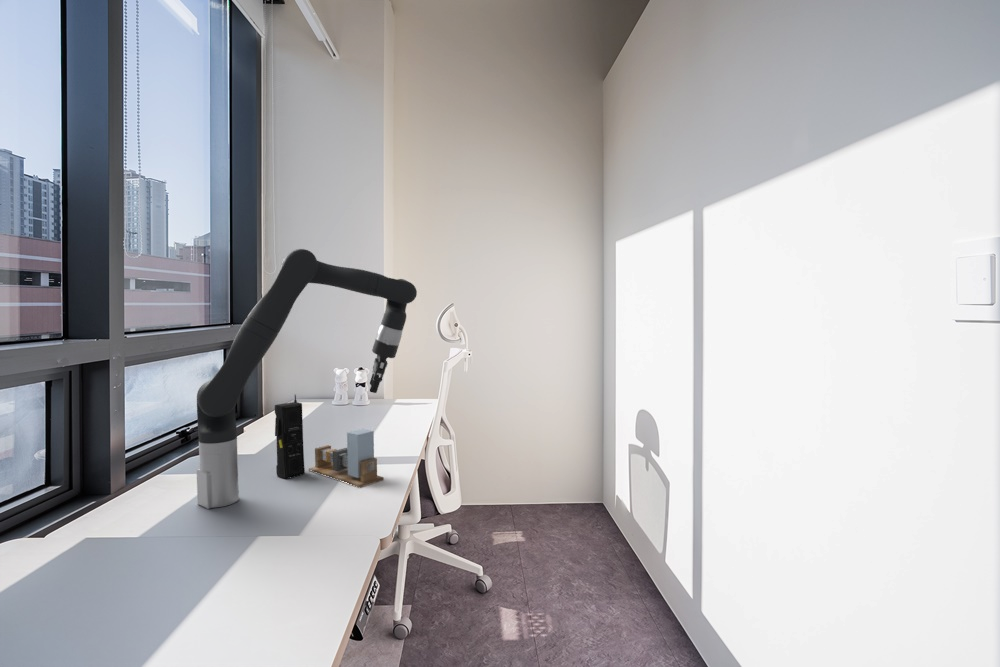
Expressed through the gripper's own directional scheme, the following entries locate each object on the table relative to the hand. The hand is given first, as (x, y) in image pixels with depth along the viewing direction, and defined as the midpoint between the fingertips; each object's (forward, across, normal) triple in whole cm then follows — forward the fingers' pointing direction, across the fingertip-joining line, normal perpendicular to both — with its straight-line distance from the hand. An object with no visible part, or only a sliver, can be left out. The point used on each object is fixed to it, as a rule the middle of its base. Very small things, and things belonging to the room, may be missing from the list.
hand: (372, 388), depth 173 cm
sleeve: (+24, +11, +3) cm, 26 cm away
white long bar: (+25, +5, -2) cm, 25 cm away
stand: (+28, +5, -1) cm, 28 cm away
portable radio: (+33, +1, -17) cm, 37 cm away
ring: (+26, +4, -2) cm, 26 cm away
